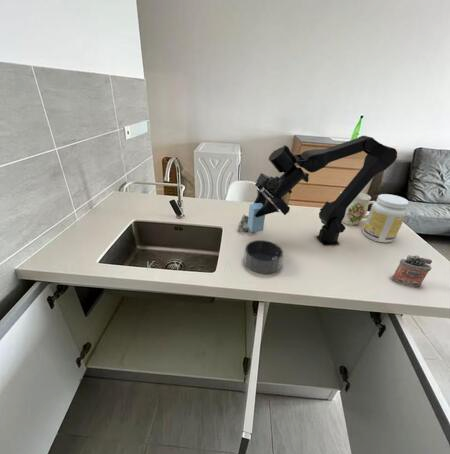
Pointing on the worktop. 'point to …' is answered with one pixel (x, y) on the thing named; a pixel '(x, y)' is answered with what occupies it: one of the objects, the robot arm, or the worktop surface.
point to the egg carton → (244, 224)
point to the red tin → (412, 271)
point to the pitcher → (357, 209)
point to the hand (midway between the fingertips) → (253, 213)
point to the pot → (263, 257)
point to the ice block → (254, 222)
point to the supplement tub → (385, 218)
